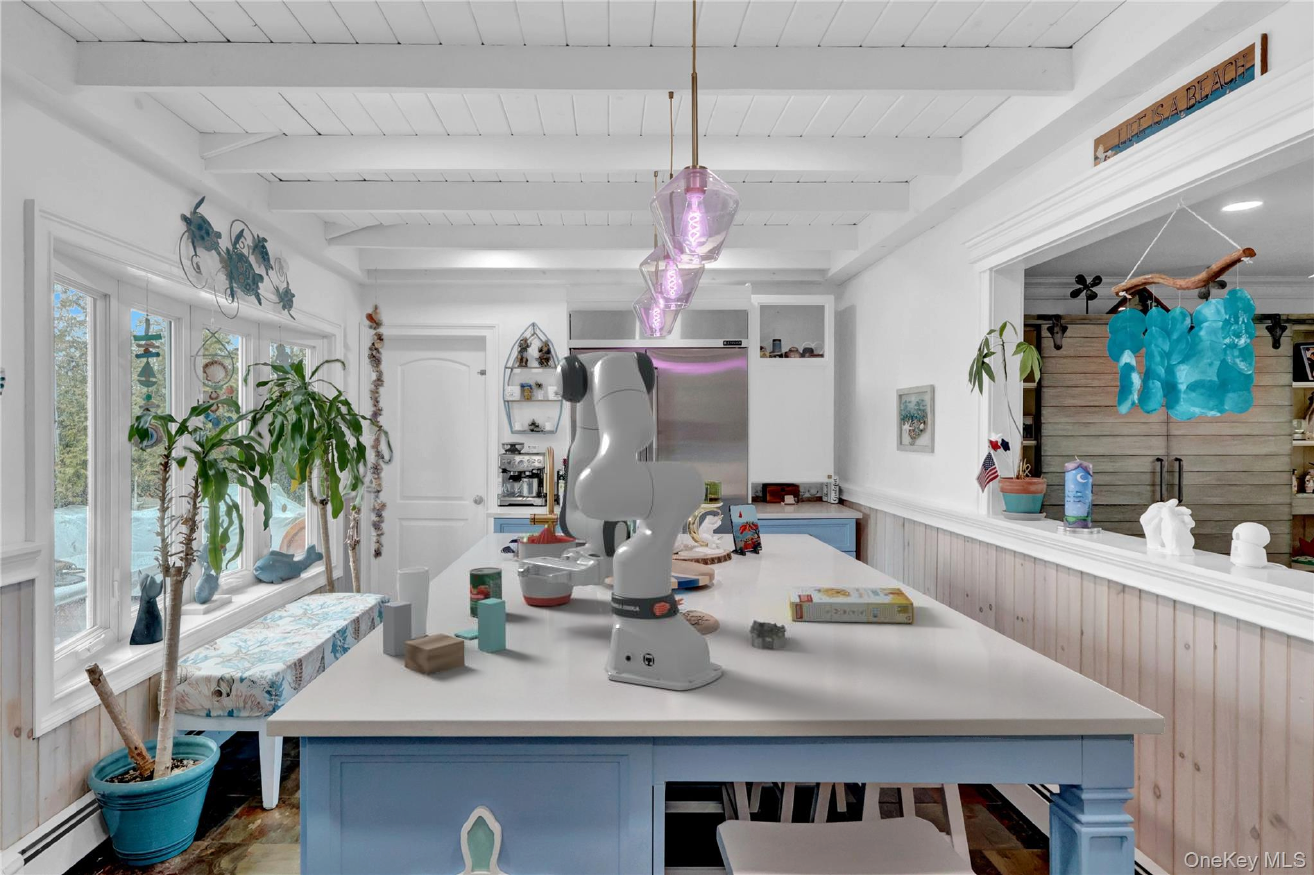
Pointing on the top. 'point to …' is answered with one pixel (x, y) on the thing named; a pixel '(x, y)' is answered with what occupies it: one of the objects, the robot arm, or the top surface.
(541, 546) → the citrus juicer
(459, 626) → the top surface
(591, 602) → the top surface
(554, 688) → the top surface
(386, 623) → the grey block
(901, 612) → the cereal box
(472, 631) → the tile
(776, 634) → the egg carton
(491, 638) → the teal block
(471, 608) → the canned tomato
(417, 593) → the drinking glass
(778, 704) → the top surface
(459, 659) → the base block
